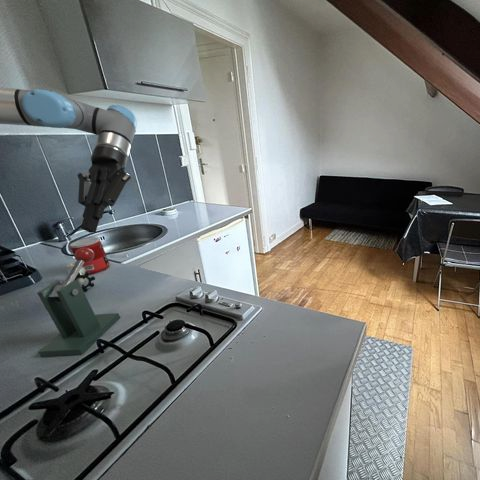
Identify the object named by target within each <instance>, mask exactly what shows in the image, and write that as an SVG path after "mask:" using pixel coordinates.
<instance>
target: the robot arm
mask: <svg viewBox="0 0 480 480" xmlns="http://www.w3.org/2000/svg"><path fill="white" fill-rule="evenodd" d="M0 125H12V126H27V127H29V126H30V127H40V128H41V127H42V128H52V129H53V128H54V129H68V130H69V129H71V130H76V131H80V132H84V133H89V134H93V135H96V136H97V139H96V142H95V144H94V148H93V151H92V153H91V157H90V162H91V166H90V167H89V169H88V171H87V172H86V173H85V172H84V174H83V173H82V172H79V173H78V174H77V178H78V180H79V181H78V195H77V196H78V197H77V198H78V199H77V201H78V204H80V205H81V206H83V207H84V209H83V212H82V218H83V219H82V222H81V225H80V229H81V230H83V231H85V232H88V233H89V234H90V233H92V234H93V233H97V229H98V226H99V222H100V220H102V219H103V216H104V212H105V210H106V209H107V208H108V207H113V206H115V204H116V203H117V200H118V198H120V197H119V196H121V193H122V191H123V189H124V187H125V186H126V185H127V183H128V181H130V180H131V179H132V176H131V175H130V174H129V173H128V172H126V171H125V170H126V167H127V164H128V159H129V155H130V152H131V148H132V144H133V141H134V138H135V134H136V132H137V125H138V119H137V116H136V115H135V113H134V112H133V111H132V110H131V109H129V108H127V107H125V106H124V105H121V104H111V105H109V106H108V108H106V109H104V108H102V107H97V106H94V105H90V104H88V103H85V102H82V101H79V100H75V99H74V98H71V97H67V96H64V95H63V94H60V93H57V92H55V91H53V90H48V89H31V90H30V89H19V88H13V87H3V86H0Z"/></svg>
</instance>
